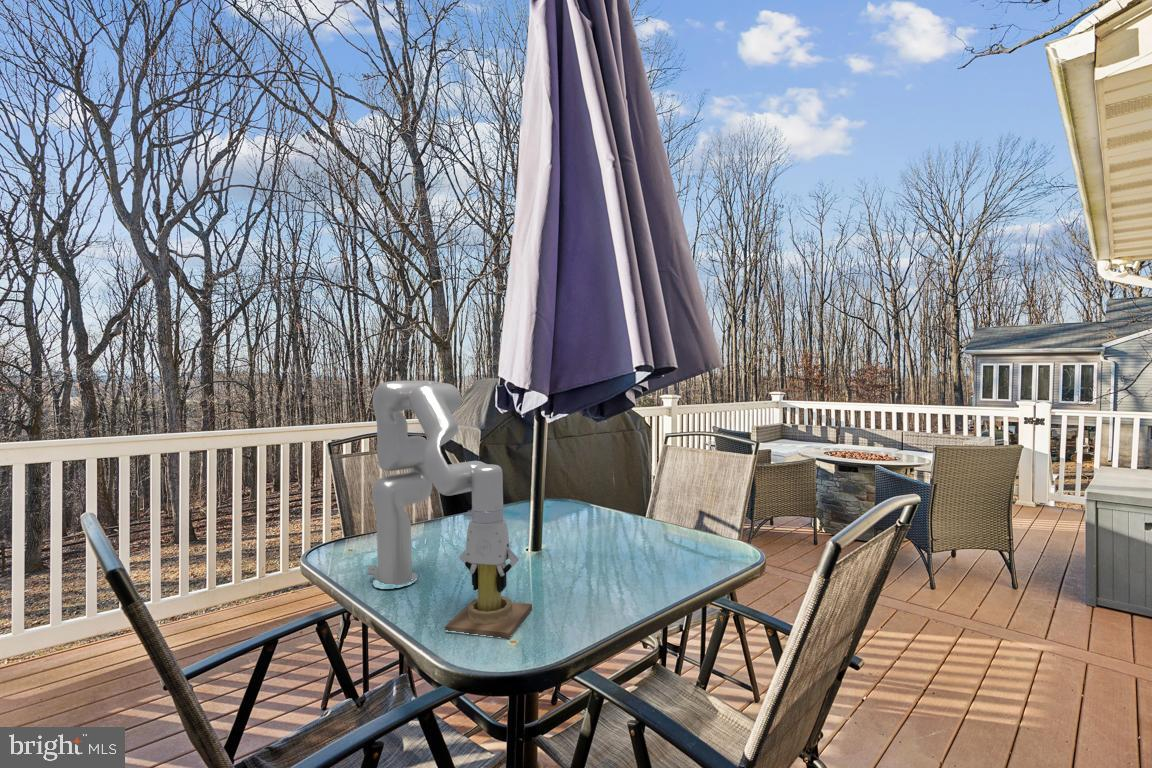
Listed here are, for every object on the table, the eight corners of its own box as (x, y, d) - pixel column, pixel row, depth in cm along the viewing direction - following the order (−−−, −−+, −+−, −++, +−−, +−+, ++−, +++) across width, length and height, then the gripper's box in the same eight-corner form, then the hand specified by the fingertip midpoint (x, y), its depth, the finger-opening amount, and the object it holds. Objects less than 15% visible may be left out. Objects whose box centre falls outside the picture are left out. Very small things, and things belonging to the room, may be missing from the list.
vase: (471, 614, 130) (470, 555, 130) (489, 605, 135) (487, 548, 135) (490, 620, 127) (489, 560, 127) (507, 610, 132) (506, 552, 132)
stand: (445, 632, 125) (444, 615, 125) (474, 604, 141) (474, 589, 141) (509, 639, 121) (508, 621, 121) (532, 609, 137) (531, 594, 137)
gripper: (448, 518, 129) (450, 592, 129) (515, 521, 125) (516, 598, 125) (462, 510, 137) (464, 581, 137) (526, 513, 132) (527, 586, 133)
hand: (489, 588), depth 131 cm, fingers open, 5 cm apart
